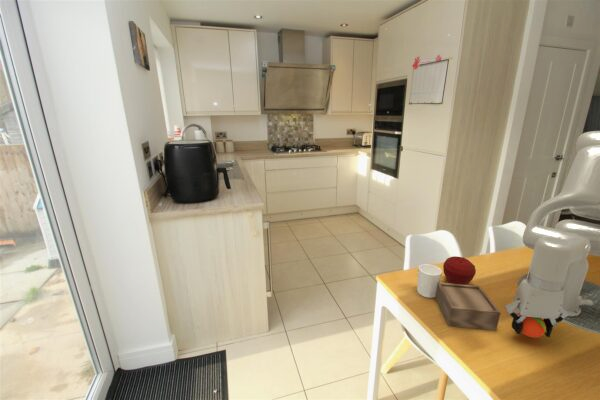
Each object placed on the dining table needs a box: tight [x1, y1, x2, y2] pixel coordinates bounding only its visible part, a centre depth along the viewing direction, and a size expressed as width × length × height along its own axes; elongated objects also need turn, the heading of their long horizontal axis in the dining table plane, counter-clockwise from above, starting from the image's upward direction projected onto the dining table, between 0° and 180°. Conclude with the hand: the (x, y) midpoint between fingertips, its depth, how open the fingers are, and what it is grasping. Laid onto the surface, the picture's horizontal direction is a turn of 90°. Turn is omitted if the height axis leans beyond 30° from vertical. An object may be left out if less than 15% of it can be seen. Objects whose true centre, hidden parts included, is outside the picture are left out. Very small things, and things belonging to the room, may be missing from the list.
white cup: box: [416, 263, 443, 299], centre depth 104 cm, size 8×8×10 cm
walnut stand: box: [434, 282, 501, 332], centre depth 93 cm, size 14×14×7 cm
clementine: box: [518, 314, 547, 339], centre depth 82 cm, size 8×7×7 cm
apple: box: [442, 256, 477, 285], centre depth 109 cm, size 11×11×12 cm
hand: (530, 331), depth 82 cm, fingers closed on clementine, 7 cm apart
